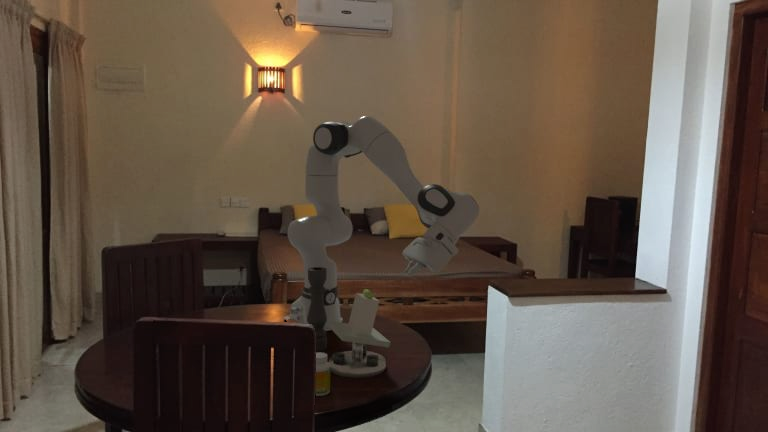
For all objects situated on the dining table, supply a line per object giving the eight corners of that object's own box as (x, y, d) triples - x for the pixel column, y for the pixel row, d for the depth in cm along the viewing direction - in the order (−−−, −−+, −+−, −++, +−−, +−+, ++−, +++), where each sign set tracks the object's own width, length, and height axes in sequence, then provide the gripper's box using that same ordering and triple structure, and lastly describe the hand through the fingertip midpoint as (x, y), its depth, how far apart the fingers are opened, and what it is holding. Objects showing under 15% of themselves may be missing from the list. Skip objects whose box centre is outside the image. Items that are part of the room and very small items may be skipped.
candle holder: (312, 352, 170) (312, 271, 168) (303, 346, 176) (303, 268, 173) (330, 349, 174) (330, 269, 171) (321, 343, 179) (322, 266, 176)
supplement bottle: (329, 396, 140) (330, 358, 139) (308, 396, 140) (308, 358, 139) (330, 387, 146) (330, 351, 145) (309, 387, 145) (309, 351, 144)
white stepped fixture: (371, 332, 168) (382, 289, 168) (389, 347, 155) (400, 300, 155) (327, 325, 163) (338, 281, 162) (342, 340, 150) (354, 292, 149)
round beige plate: (373, 354, 170) (374, 327, 169) (394, 373, 155) (394, 344, 154) (322, 360, 164) (322, 332, 163) (338, 381, 149) (338, 350, 149)
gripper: (416, 228, 174) (386, 261, 171) (448, 237, 155) (415, 274, 152) (429, 241, 176) (400, 274, 173) (461, 253, 157) (429, 289, 154)
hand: (407, 274), depth 162 cm, fingers closed
